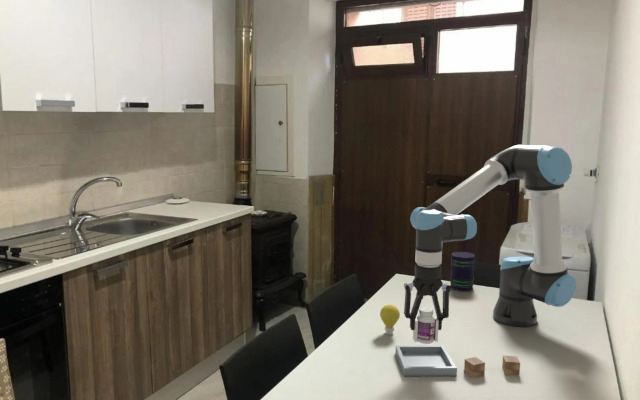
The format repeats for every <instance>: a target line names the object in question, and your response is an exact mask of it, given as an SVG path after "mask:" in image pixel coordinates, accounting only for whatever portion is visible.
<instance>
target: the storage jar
mask: <svg viewBox="0 0 640 400" xmlns="http://www.w3.org/2000/svg"><path fill="white" fill-rule="evenodd" d="M475 256H476V255H475V254H474V253H473V252H468V251H454V252H452V253H451V259H450V267H451V270H450V271H451V272H450V276H449V277H450V280H449V281H450V282H449V283H450V284H449V285H450V286H451V290H453V291H458V292H471V291H473V290H474V281H475V276H474V270H475V261H476V260H475Z"/></svg>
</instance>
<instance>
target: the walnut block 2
mask: <svg viewBox="0 0 640 400" xmlns="http://www.w3.org/2000/svg"><path fill="white" fill-rule="evenodd" d="M501 367H502V371H503V374H504V375H506V376H507V375H509V376H520V370H521V369H520V368H521V361H520V360H519V357H518V356H515V355H506V354H505V355H502V366H501Z"/></svg>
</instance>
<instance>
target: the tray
mask: <svg viewBox="0 0 640 400" xmlns="http://www.w3.org/2000/svg"><path fill="white" fill-rule="evenodd" d="M395 356H396V359H397V360H398V361H397V362H398V365H399V367H400V368H401V371H402V372H401V373H402V374H403V376H404V378H405V377H407V378H411V377H413V378H414V377H415V378H416V377H418V378H419V377H457V374H458V368H457V367H458V366H456V364H455V362H454V360H453V359H452V357H451V355H450V353H449V352H448V351H447V349H446V347H445V345H443V344H441V345H439V344H438V345H437V344H436V345H435V344H433V345H432V344H430V345H429V344H424V345H423V344H422V345H421V344H420V345H418V344H417V345H415V344H414V345H395Z"/></svg>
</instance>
